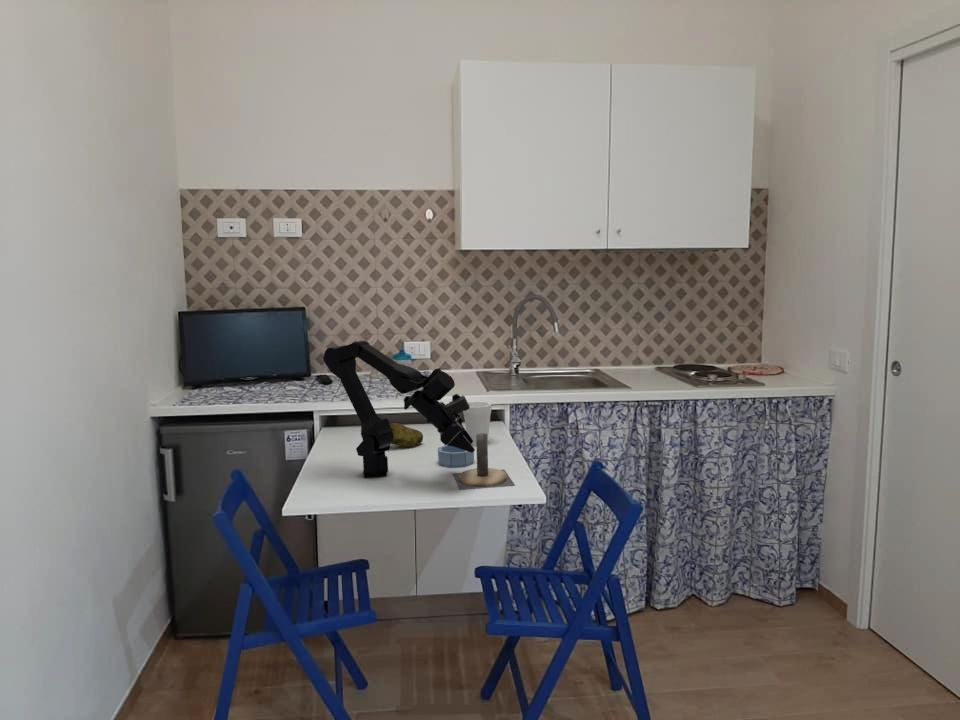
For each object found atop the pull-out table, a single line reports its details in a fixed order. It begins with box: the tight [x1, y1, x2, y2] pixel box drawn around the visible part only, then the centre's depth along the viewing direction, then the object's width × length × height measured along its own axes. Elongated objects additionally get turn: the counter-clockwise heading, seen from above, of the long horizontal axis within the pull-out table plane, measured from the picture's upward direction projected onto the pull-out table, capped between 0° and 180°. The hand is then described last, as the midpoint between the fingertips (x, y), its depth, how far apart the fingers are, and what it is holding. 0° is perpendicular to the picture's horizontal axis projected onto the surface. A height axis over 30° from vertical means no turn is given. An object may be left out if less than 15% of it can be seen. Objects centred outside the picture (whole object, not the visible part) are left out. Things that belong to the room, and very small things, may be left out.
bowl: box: [437, 444, 475, 468], centre depth 218 cm, size 10×10×4 cm
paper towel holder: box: [459, 433, 507, 487], centre depth 200 cm, size 13×13×12 cm
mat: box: [451, 469, 516, 491], centre depth 201 cm, size 15×15×1 cm
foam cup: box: [462, 400, 492, 447], centre depth 239 cm, size 10×9×13 cm
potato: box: [389, 422, 424, 448], centre depth 238 cm, size 8×13×8 cm, turn 98°
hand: (472, 446), depth 200 cm, fingers open, 9 cm apart
